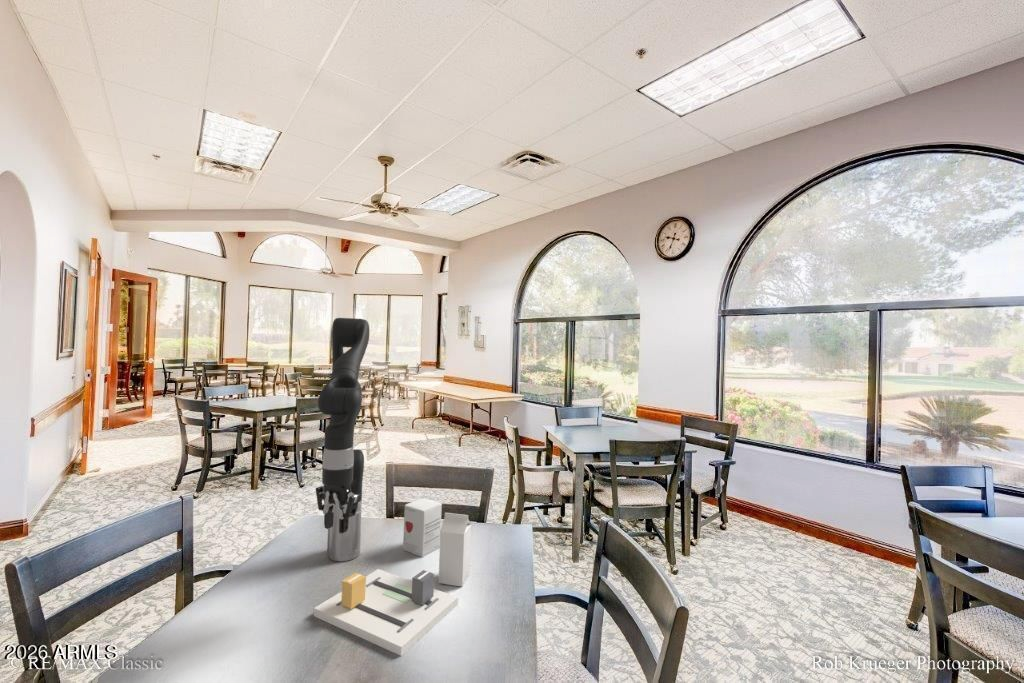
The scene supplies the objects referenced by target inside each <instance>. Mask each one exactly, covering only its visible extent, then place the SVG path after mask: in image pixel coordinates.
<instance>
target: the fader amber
mask: <svg viewBox="0 0 1024 683" xmlns="http://www.w3.org/2000/svg"><path fill="white" fill-rule="evenodd" d="M365 588H366V575H363V574H361V573H358V572H355V573H352V574H351V575H349V576H348V577H346V578H344V579H343V580H341V591H342V599H341V605H343V606H346V607H348V608H350V609H352V608H354V607H355V606H357V605H358V604H360V603H361V602H363V601H364V600H365Z"/></svg>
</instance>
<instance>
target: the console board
mask: <svg viewBox="0 0 1024 683" xmlns="http://www.w3.org/2000/svg"><path fill="white" fill-rule="evenodd" d="M365 576H366V575H365ZM341 599H342V590H341V591H340V592H338V593H337V594H335V595H333V596H331V597H330V598H329V599H327V600H325V601H323V602H322V603H320V604H318V605H316V606H315V607H314V608H313V617H315V618H318V619H319V620H322V621H324V622H326V623H327V624H330V625H333V626H335V627H337V628H339V629H340V630H343V631H345V632H348V633H350V634H352V635H354V636H357V637H359V638H361V639H363V640H365V641H368V642H370V643H372V644H374V645H376V646H379V647H380V648H382V649H385V650H386V651H389V652H391V653H393V654H396V655H398V656H400V657H402V656H403V655H404V654H405V653H406V652H407V651H409V650H410V649H411V648H412V647H414V646H415V645H416V644H417V642H419V641H420V640H421V639H422V638H423V637H424V636H425V635H427V633H428V632H430V631H431V630H432V629H433V628H434V627H435V626H436V625H437V624H439V623H440V621H442V620H443V619H444V618H445V617H446V616H447V615H449V613H450V612H452V611H453V610H454V609H455V608H456V607H457V606H458V605H459V597H458V596H455V595H453V594H450V593H449V592H448V593H447V592H444V591H442V590H438V589H437V588H434V592H433V597H432V598H431V599H430V600H428V601H427V602H426V603H425V604H423V605H420V604H417V603H415V602H412V579H408V578H405V577H402V576H400V575H396V574H393V573H390V572H387V571H385V570H382V569H379V568H378V569H376V570H374V571H373V572H370V573H369V574H368V575H367V576H366V588H365V600H364V601H363V602H361V603H360V604H358V605H357V606H355V607H354V608H352V609H350V608H348V607H346V606H343V605H341Z"/></svg>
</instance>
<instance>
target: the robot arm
mask: <svg viewBox="0 0 1024 683" xmlns="http://www.w3.org/2000/svg"><path fill="white" fill-rule="evenodd" d="M369 324H370V323H369V321H368V320H366V319H363V318H353V317H351V318H349V317H336V318H335V319H334V320H333V321H332V326H331V356H332V357H331V360H332V361H331V362H332V366H331V367H332V368H331V369H332V370H331V374H330V379H329V380H328V382H327V383H326V384H325V386H323V388H322V389H321V392H320V393H319V395H318V399H317V408H318V410H319V411H320V413H322V414H323V415H326V416H330V422H329V423H330V424H328V425H327V426H326V427H325V429H324V446H323V448H324V449H323V454H322V455H323V456H322V472H321V473H322V476H321V482H322V485H321V486H318V487H316V488H315V493H316V502H317V509H318V510H319V511H322V513H323V515H324V516H323V517H324V518H323V525H324V528H325V529H327V541H326V542H327V547H326V548H327V549H326V555H327V556H329V557H328V558H329V560H332V561H335V562H347V561H350V560H351V561H352V560H353V559H355V558H357V557H359V556H360V553H361V537H362V535H361V532H362V531H361V530H362V504H363V502H362V500H363V499H362V498H363V480H364V469H365V456H364V452H363V450H361V449H354V433H355V425H356V421H357V418H358V416H359V415H360V412H361V410H362V402H363V395H362V392H363V390H362V389H363V388H362V386H361V384H360V382H359V375H360V368H361V364H362V361H363V358H364V355H365V353H366V351H367V348H368V345H369V342H370V341H369V340H370V325H369ZM344 348H349V349H348V350H346V351H345V352H344Z"/></svg>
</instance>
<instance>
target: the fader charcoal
mask: <svg viewBox="0 0 1024 683" xmlns="http://www.w3.org/2000/svg"><path fill="white" fill-rule="evenodd" d="M411 581H412V602H415V603H417V604H420V605H423V604H425V603H426V602H427V601H428V600H430V599H431V598H432V597H433V592H434V589H435V588H434V586H435V584H434V583H435V573H433V572H430V571H428V570H424V569H423V570H421V571H420V572H418V573H417V574H415V575H414V576H412V579H411Z"/></svg>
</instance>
